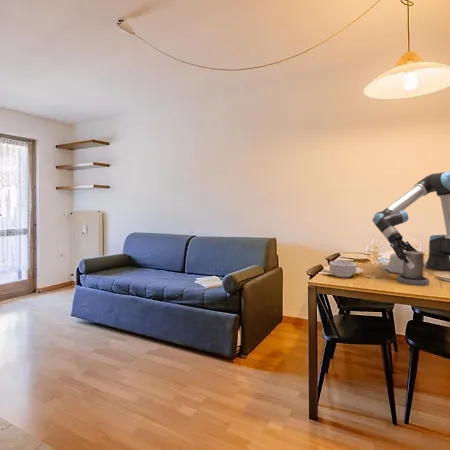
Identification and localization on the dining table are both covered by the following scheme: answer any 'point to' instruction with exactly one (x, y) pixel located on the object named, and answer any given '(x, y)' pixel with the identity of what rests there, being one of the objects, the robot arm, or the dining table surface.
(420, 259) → the pillar candle
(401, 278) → the candle dish
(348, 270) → the paper bowls
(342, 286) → the dining table surface
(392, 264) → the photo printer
